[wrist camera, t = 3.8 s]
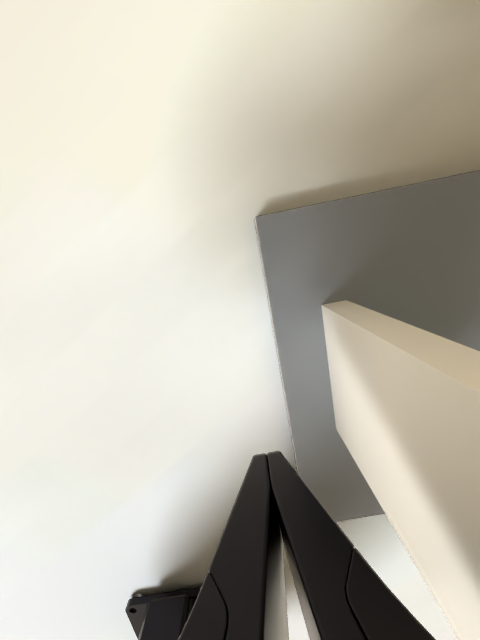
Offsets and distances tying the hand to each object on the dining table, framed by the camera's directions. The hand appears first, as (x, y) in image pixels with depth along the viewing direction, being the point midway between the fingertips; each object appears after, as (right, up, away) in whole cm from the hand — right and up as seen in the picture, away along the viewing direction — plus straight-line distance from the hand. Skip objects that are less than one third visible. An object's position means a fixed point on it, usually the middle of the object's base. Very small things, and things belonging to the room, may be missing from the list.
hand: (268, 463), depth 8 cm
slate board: (+9, +2, +6) cm, 11 cm away
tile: (+4, +2, +5) cm, 7 cm away
